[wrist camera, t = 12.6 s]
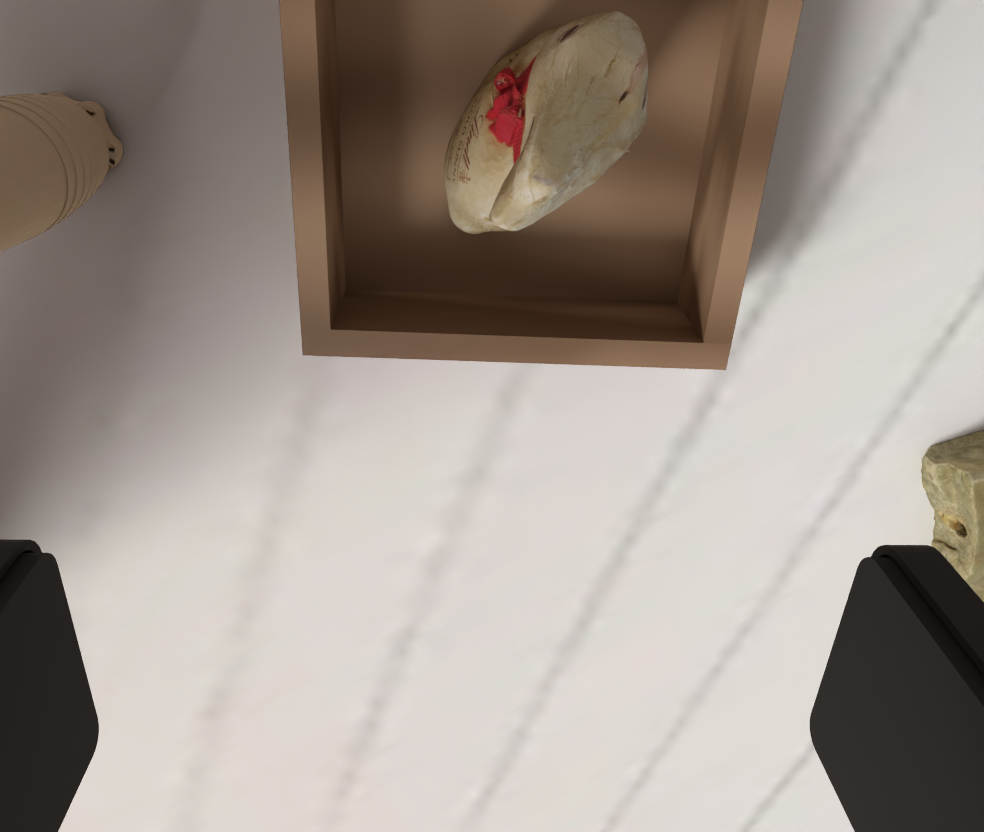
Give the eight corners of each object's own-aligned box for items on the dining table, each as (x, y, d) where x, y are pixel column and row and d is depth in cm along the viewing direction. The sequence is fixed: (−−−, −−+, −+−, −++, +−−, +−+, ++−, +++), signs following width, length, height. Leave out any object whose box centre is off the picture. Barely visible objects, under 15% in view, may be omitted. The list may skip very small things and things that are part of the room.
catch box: (691, 317, 33) (725, 369, 29) (324, 303, 33) (302, 355, 28) (770, -116, 26) (831, -134, 22) (301, -147, 25) (267, -171, 21)
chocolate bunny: (661, 142, 29) (745, 216, 20) (469, 244, 31) (470, 354, 22) (597, -12, 27) (661, -5, 18) (392, 108, 28) (359, 169, 19)
